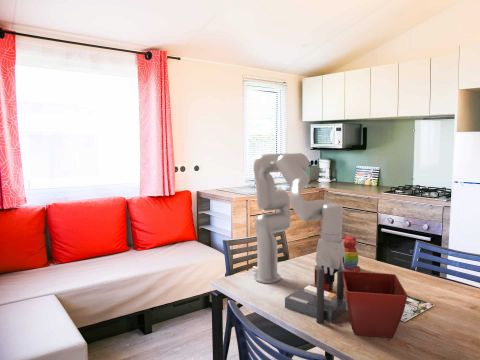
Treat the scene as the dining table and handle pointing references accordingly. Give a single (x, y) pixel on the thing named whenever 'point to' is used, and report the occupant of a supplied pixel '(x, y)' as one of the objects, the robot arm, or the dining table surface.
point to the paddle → (327, 295)
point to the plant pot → (374, 302)
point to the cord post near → (320, 296)
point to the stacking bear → (350, 254)
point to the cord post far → (340, 286)
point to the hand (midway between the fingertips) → (329, 283)
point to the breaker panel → (314, 305)
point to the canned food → (326, 286)
